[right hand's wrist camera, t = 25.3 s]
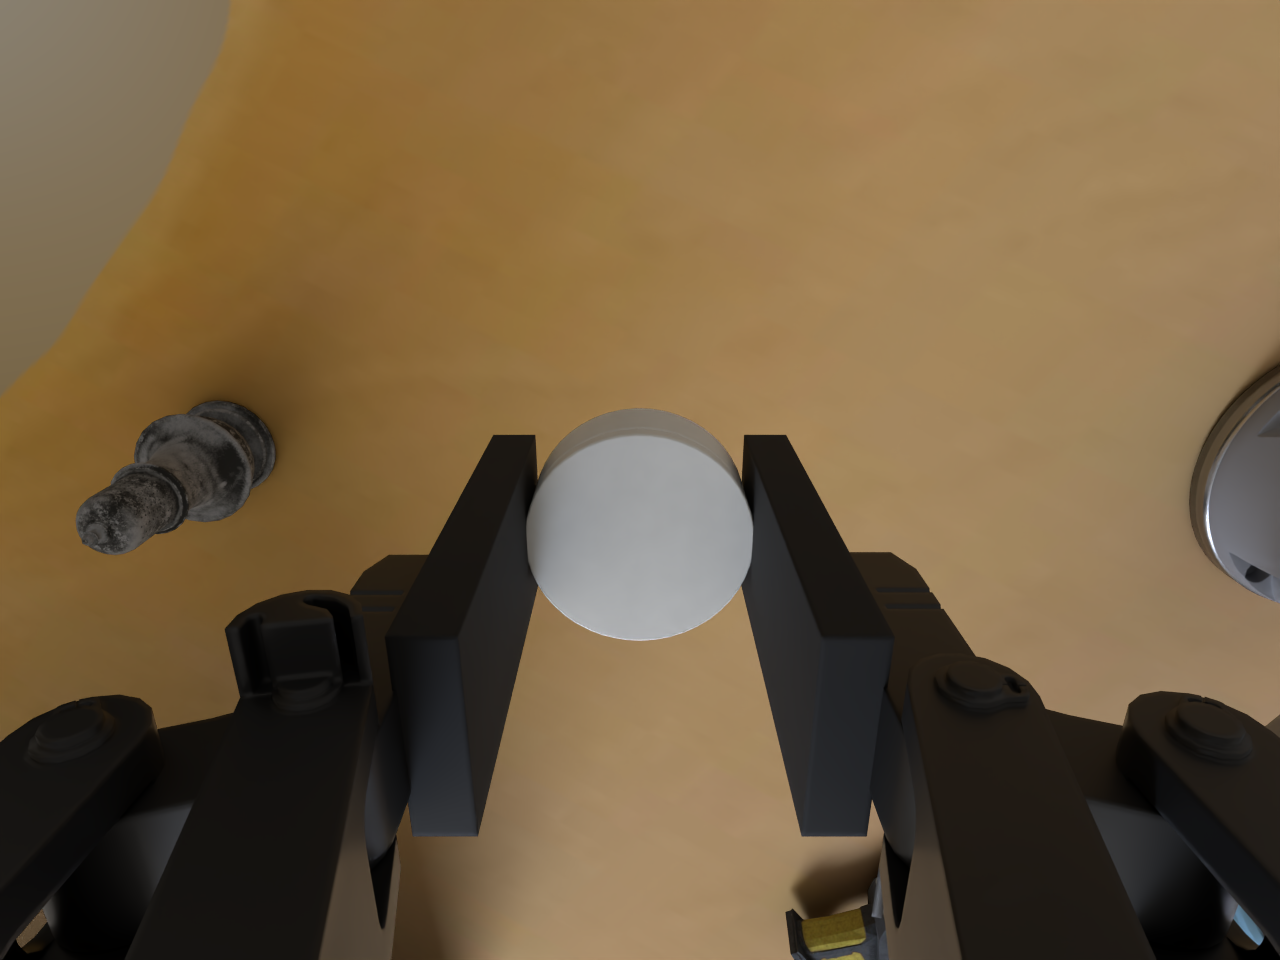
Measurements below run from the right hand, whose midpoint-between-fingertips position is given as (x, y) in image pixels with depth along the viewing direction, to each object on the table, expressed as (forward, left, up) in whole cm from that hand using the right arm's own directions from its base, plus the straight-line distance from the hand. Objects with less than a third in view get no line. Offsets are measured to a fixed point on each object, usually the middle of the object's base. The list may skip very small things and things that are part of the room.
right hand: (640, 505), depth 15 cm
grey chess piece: (+23, +7, -28) cm, 37 cm away
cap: (0, 0, +1) cm, 1 cm away
